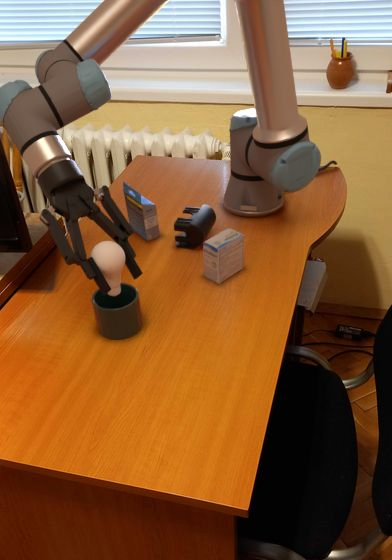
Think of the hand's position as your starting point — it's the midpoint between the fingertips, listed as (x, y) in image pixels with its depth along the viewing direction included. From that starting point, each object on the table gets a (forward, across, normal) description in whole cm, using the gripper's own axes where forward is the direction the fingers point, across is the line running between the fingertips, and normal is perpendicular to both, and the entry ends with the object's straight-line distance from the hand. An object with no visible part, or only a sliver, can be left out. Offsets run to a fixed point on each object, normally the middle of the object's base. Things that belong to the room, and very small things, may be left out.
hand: (123, 284), depth 98 cm
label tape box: (-12, -26, -28) cm, 40 cm away
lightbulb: (+1, 0, -6) cm, 6 cm away
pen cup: (+6, 0, -10) cm, 12 cm away
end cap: (-4, -32, -20) cm, 38 cm away
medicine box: (+7, -27, -9) cm, 29 cm away
